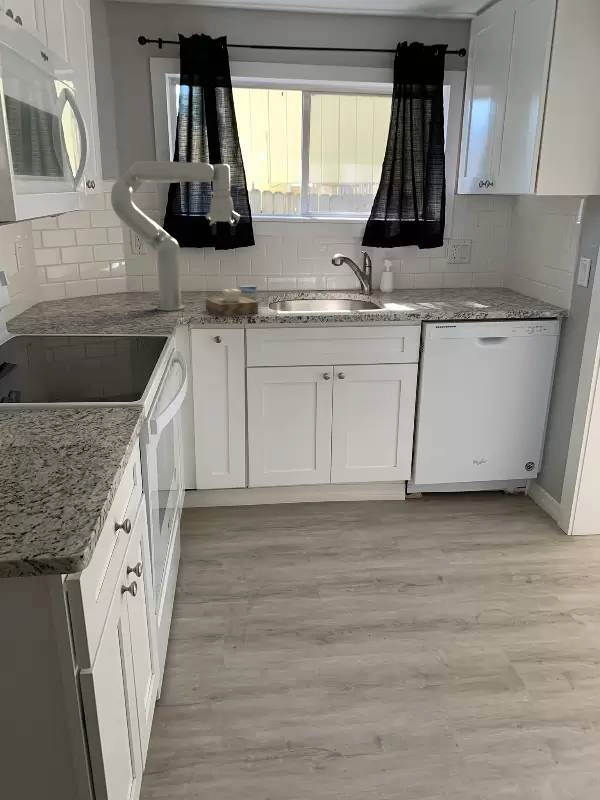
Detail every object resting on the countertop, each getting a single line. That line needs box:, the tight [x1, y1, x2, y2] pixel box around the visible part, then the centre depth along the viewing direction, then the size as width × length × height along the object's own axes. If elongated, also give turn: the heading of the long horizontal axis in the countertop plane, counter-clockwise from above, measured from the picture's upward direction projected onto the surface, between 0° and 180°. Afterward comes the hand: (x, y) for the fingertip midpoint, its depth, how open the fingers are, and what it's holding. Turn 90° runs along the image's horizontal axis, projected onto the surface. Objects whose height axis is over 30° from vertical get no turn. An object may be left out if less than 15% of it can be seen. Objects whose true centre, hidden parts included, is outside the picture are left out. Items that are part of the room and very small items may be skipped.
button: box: [221, 288, 241, 302], centre depth 271 cm, size 6×6×6 cm
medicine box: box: [238, 285, 257, 301], centre depth 292 cm, size 8×4×9 cm, turn 105°
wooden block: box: [205, 297, 259, 317], centre depth 273 cm, size 18×16×5 cm
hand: (223, 234), depth 274 cm, fingers open, 9 cm apart
